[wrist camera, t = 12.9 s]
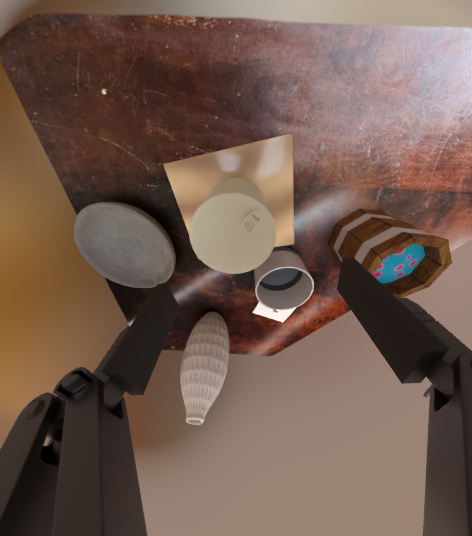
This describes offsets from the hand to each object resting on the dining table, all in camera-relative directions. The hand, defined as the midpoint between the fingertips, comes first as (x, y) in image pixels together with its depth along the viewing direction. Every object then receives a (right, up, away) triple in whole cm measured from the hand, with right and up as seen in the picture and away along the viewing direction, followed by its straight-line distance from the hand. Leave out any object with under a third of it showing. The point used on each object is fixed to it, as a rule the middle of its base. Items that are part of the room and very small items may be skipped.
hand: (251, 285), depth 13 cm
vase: (-9, -16, +47) cm, 50 cm away
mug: (+29, +7, +30) cm, 43 cm away
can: (-1, +11, +14) cm, 18 cm away
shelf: (-1, +17, +24) cm, 30 cm away
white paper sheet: (+12, -11, +43) cm, 46 cm away
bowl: (-25, +9, +31) cm, 41 cm away
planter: (+10, +2, +34) cm, 36 cm away
